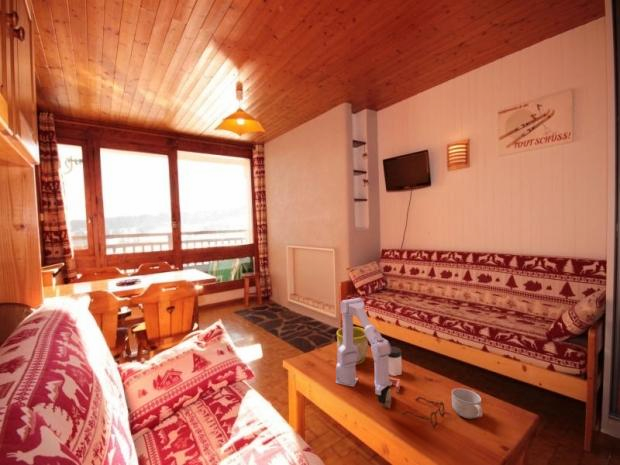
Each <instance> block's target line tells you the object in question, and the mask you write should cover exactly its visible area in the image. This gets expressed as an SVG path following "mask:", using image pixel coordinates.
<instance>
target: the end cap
mask: <svg viewBox="0 0 620 465" xmlns="http://www.w3.org/2000/svg"><path fill="white" fill-rule="evenodd" d="M389 381H391V382H392V385H391V386H394V387H395V393H397V394H398V393H399V392H400V388H401V379H399V378H393V377H390V376H389Z"/></svg>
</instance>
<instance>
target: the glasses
mask: <svg viewBox="0 0 620 465" xmlns="http://www.w3.org/2000/svg"><path fill="white" fill-rule="evenodd" d="M418 400H422V401H423V400H424V401H425V402H427V403H431V404H435V405H438V408H437V409H436V410H435V411H432V412H431V413H430V417H427V416H422V415H419V414H416V413H415V412H412V411H409V410H406V411H404V412H401V415H405V414H410V415H413V416H414V417H416V418H420V419H424V420H428V421H430V424H431V426H432V427H435V426H436V425H437V421H438V420H437V414H438V413H439V415H440V416H443V415H444V414H445V404H444V402H443V401H439V402H438V401H434V400H428V399H426V398H424V397H421V396H419V397H417V398H415V399H414V401H416V402H417V401H418ZM441 406H442V412H441ZM433 416H434V422H433Z"/></svg>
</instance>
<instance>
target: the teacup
mask: <svg viewBox="0 0 620 465" xmlns="http://www.w3.org/2000/svg"><path fill="white" fill-rule="evenodd" d="M451 405H452V409H453V410H454V411H455V412H456V414H458V415H459V416H460V417H463V418H465V419H472V420H473V419H476V418H481V417H482V416H483V415H484V414H483V413H484V412H483V409H482V397H481V396H480V395H479V394H478V393H476V391H473V390H470V389H466V388H460V387H459V388H454V389H452V390H451Z"/></svg>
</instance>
